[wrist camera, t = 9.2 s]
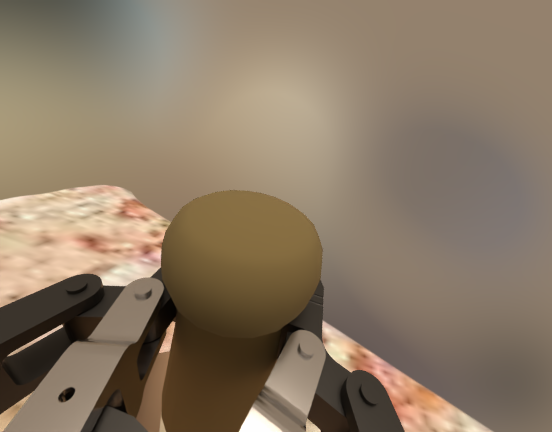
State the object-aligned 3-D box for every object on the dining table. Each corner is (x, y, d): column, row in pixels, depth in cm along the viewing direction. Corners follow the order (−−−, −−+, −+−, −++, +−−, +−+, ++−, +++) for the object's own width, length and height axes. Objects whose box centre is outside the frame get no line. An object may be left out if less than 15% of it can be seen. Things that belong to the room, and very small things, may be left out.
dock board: (89, 638, 11) (74, 644, 9) (139, 374, 21) (136, 356, 19) (314, 517, 16) (328, 508, 14) (269, 347, 25) (274, 331, 24)
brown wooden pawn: (248, 317, 16) (281, 172, 10) (298, 412, 11) (394, 250, 6) (153, 355, 12) (130, 172, 7) (173, 508, 8) (153, 338, 3)
